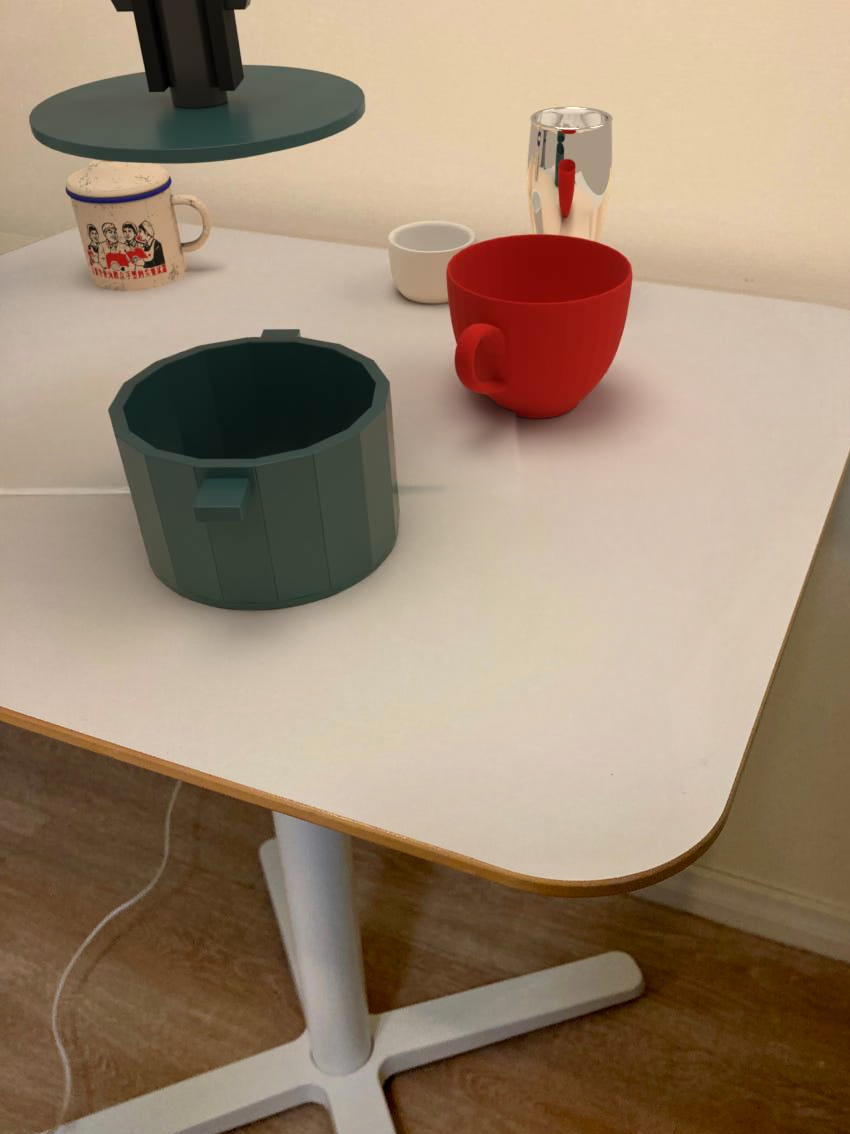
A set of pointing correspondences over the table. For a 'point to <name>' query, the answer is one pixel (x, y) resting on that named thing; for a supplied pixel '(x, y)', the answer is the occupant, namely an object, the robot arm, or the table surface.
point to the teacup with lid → (131, 224)
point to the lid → (195, 105)
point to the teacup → (426, 257)
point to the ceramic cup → (537, 319)
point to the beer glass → (569, 171)
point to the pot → (261, 468)
